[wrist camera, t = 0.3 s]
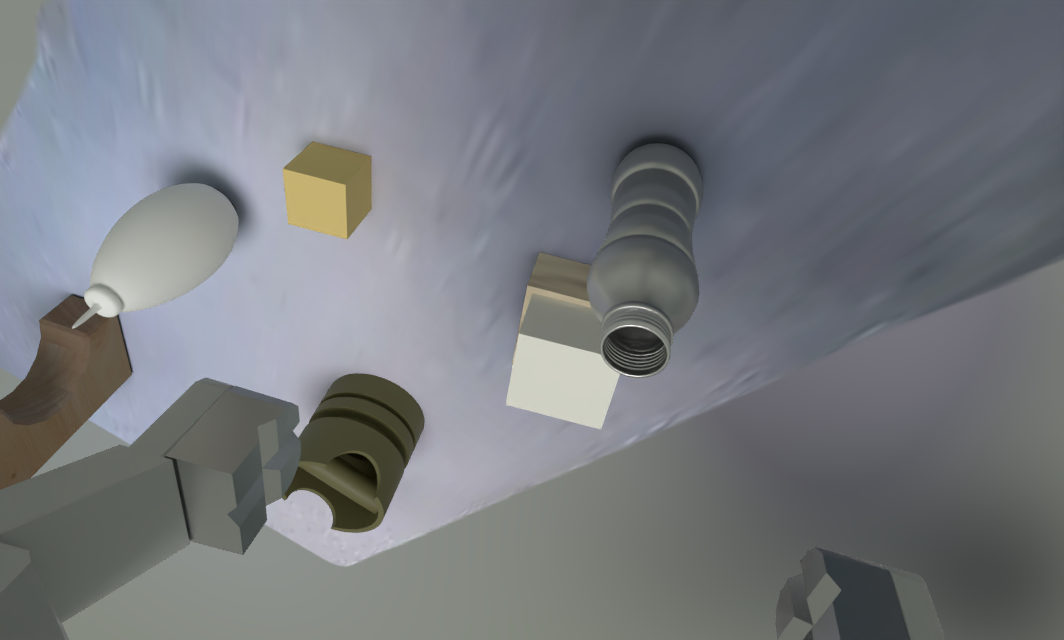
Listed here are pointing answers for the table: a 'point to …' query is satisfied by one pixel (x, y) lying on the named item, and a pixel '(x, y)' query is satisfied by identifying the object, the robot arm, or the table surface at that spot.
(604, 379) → the painted tower top
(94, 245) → the table surface
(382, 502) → the piston
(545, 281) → the birch tower base
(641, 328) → the plastic bottle
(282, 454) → the robot arm
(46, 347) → the decorative block
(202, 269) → the air blower bulb
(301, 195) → the mustard cube
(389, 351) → the table surface
